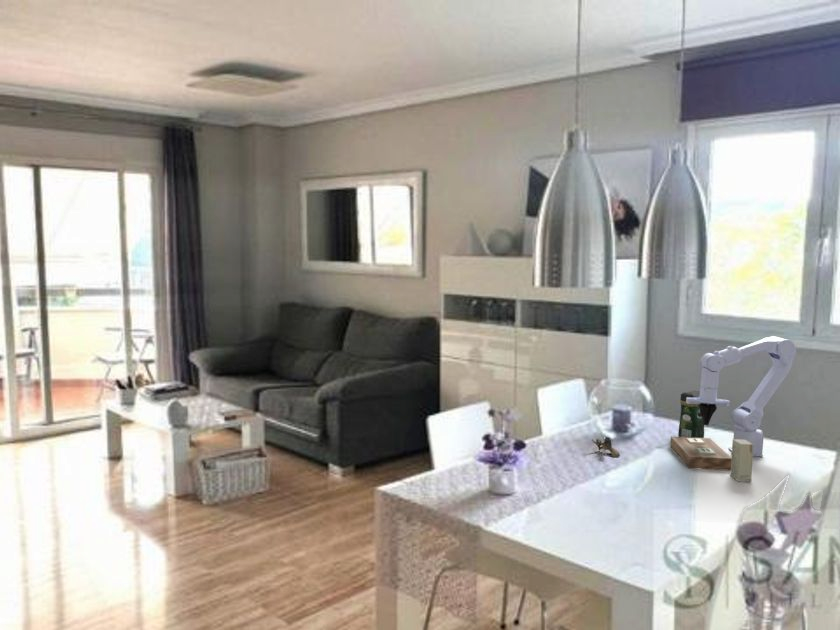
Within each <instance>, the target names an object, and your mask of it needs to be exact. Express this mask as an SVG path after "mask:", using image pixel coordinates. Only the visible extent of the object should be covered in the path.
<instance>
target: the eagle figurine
mask: <svg viewBox="0 0 840 630" xmlns="http://www.w3.org/2000/svg"><path fill="white" fill-rule="evenodd" d="M603 440H604V441H603V442H602V440H601V439H598V438H597V439H596V441H595V440H594V439H592V440H591V441H592V443H593V444H595V445H596V446H597V448H598V451H599V450H600V451H601V450H602V452H601V455H602V456H603V455H604V454H606V451H609V452H610V453H611V456H612V457H613V458H620V457H621V454H620V453H619V452H620V451H618V450H617V449H616V448H615V447H613V446H612V444H613V443H612V439H611V438H610V437H608V436H607V437H605V436H603Z"/></svg>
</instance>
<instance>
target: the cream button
mask: <svg viewBox="0 0 840 630" xmlns="http://www.w3.org/2000/svg"><path fill="white" fill-rule="evenodd" d="M686 441H687V442H688V443H689V444H703V445H704V442H703V441H702V440H701V439H697V438H686Z"/></svg>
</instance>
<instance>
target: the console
mask: <svg viewBox="0 0 840 630" xmlns="http://www.w3.org/2000/svg"><path fill="white" fill-rule="evenodd" d="M686 438H694V437H678V436H670V442H669V447H670V449H671V450H672V451H673V452H674V453H675V455H677V457H678V458H679V459H680V460H681V461H682V462H683V464H684V465H685V466H686V467H687V469H695V468H701V469H702V470H716V471H717V470H718V471H719V470H721V471H731V460H732V456H730V455H729V454H728V453H727V452H726V451H725V450H724V449H723V448H722V447H720V446H719V444H717V443H716V442H715V441H714V440H713V439H712V438H710V437H704V438H697V439H701V440H702V441H703V442H704V445H703V444H689V443H688V442H687V441H686ZM696 448H710V449H712V450H713V451H714V452H715V455H706V454H699V453H698V452H697V451H696ZM701 469H700V470H701Z"/></svg>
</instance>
